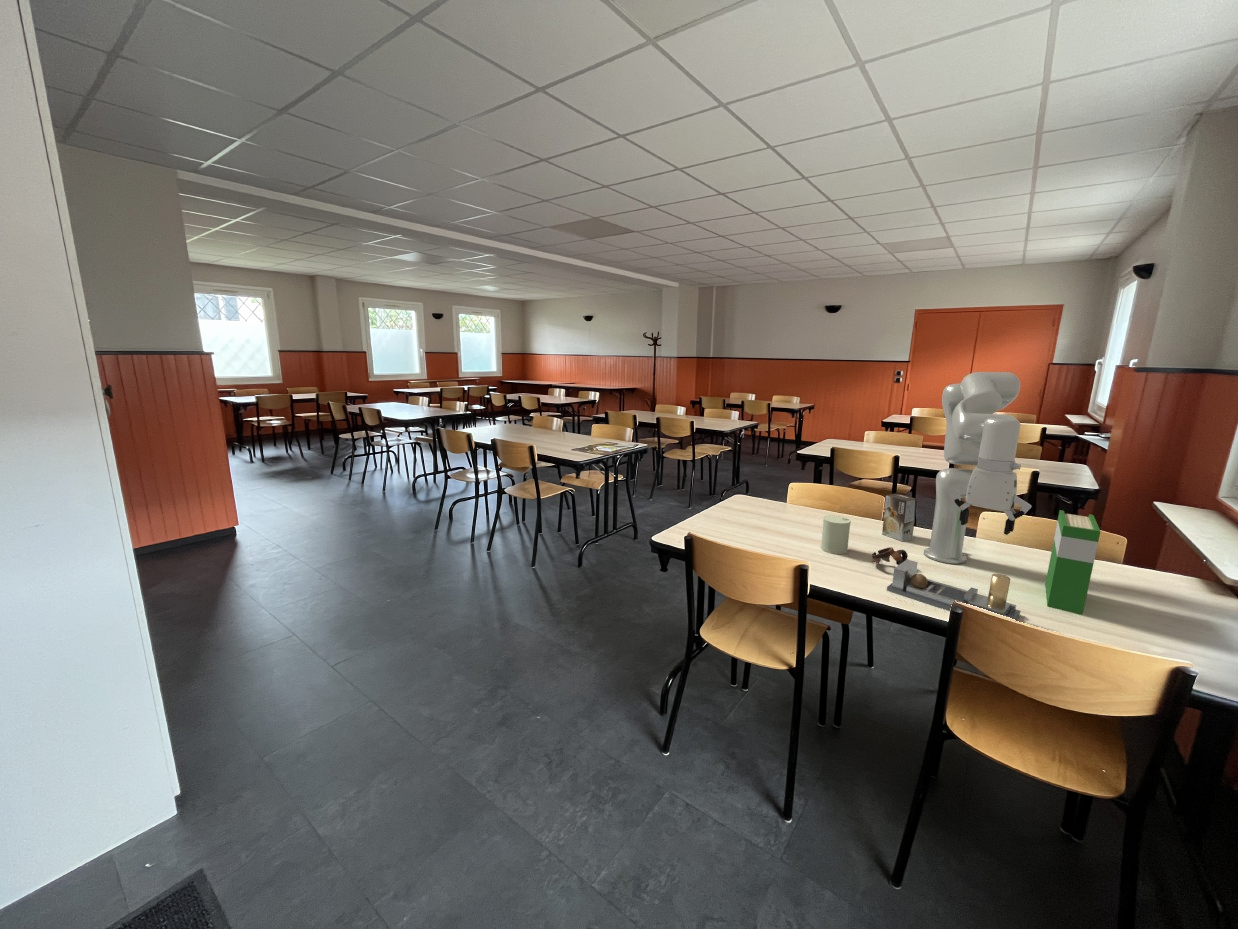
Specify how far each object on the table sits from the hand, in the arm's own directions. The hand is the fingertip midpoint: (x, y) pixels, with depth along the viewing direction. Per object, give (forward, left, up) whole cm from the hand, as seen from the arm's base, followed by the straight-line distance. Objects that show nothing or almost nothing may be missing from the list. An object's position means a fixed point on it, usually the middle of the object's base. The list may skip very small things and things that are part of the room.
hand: (984, 528), depth 134 cm
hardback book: (-29, +15, -25) cm, 41 cm away
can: (-16, -47, -25) cm, 55 cm away
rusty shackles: (-14, -26, -25) cm, 39 cm away
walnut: (-2, -14, -21) cm, 25 cm away
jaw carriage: (-2, +3, -23) cm, 23 cm away
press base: (-2, -6, -24) cm, 25 cm away
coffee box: (-47, -37, -25) cm, 65 cm away
